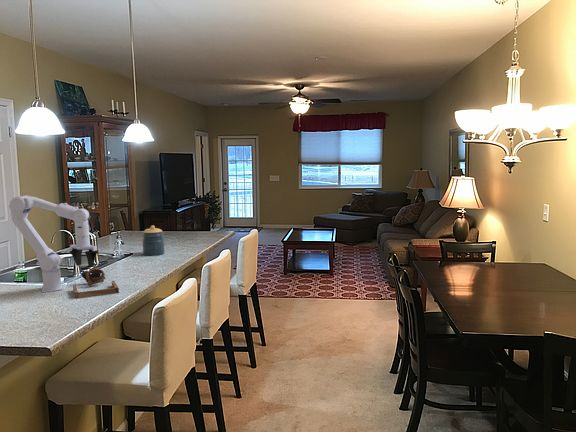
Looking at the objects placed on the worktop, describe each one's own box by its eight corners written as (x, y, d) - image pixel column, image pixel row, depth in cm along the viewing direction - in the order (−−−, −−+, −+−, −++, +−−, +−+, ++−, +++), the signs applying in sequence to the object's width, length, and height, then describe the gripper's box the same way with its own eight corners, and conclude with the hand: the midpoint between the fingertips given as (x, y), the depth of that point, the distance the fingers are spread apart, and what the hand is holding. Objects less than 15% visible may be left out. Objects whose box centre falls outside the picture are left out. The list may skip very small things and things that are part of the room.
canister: (159, 256, 290) (158, 227, 288) (139, 255, 292) (137, 226, 290) (168, 252, 303) (166, 224, 301) (148, 251, 305) (147, 223, 303)
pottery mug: (110, 282, 233) (109, 269, 228) (99, 295, 225) (98, 282, 220) (87, 275, 234) (85, 262, 229) (75, 288, 226) (73, 275, 221)
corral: (73, 290, 217) (73, 285, 216) (114, 285, 224) (114, 280, 224) (75, 298, 204) (75, 293, 204) (118, 292, 212) (118, 287, 212)
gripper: (63, 236, 217) (66, 266, 218) (87, 238, 211) (89, 268, 212) (76, 234, 223) (78, 263, 225) (99, 235, 217) (102, 265, 219)
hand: (85, 265), depth 219 cm, fingers open, 7 cm apart
